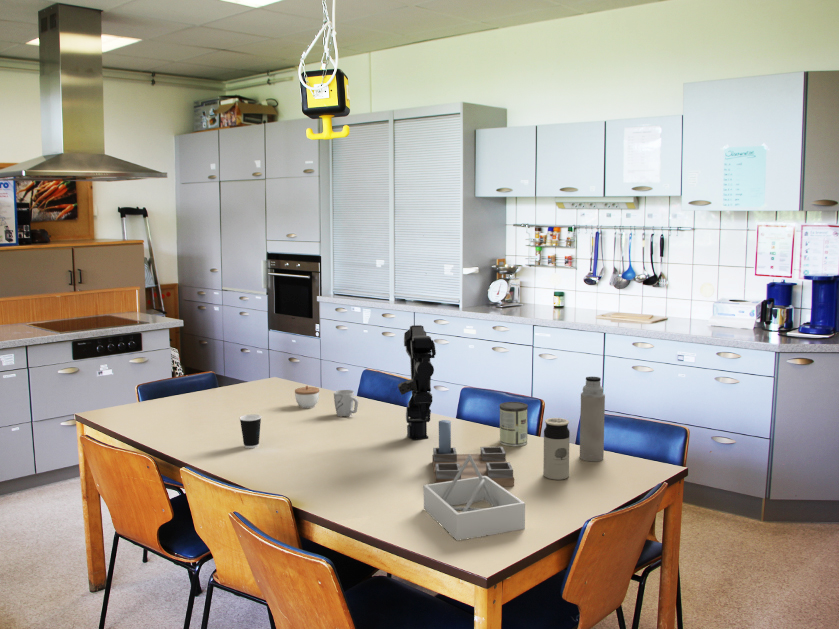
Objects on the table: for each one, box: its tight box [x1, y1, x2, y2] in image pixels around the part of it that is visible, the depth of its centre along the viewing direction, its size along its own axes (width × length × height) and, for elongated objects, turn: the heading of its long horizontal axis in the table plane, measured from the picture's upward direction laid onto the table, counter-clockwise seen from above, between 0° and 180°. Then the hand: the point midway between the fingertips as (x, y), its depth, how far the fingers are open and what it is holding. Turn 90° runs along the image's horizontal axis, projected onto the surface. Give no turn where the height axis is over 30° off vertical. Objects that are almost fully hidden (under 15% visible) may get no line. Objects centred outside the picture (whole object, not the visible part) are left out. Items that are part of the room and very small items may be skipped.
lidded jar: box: [294, 385, 320, 409], centre depth 320 cm, size 11×11×9 cm
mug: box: [333, 389, 359, 417], centre depth 304 cm, size 11×8×10 cm
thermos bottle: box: [579, 376, 606, 462], centre depth 245 cm, size 8×8×28 cm
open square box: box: [423, 476, 526, 541], centre depth 196 cm, size 20×23×7 cm
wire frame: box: [442, 455, 497, 512], centre depth 196 cm, size 18×13×16 cm
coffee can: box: [499, 401, 529, 447], centre depth 264 cm, size 10×10×14 cm
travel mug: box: [542, 417, 571, 481], centre depth 228 cm, size 8×8×18 cm
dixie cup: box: [238, 414, 262, 449], centre depth 262 cm, size 8×8×11 cm
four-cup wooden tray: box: [431, 446, 515, 487], centre depth 232 cm, size 24×24×5 cm
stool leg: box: [438, 419, 452, 454], centre depth 239 cm, size 4×4×12 cm
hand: (422, 416), depth 253 cm, fingers open, 9 cm apart
